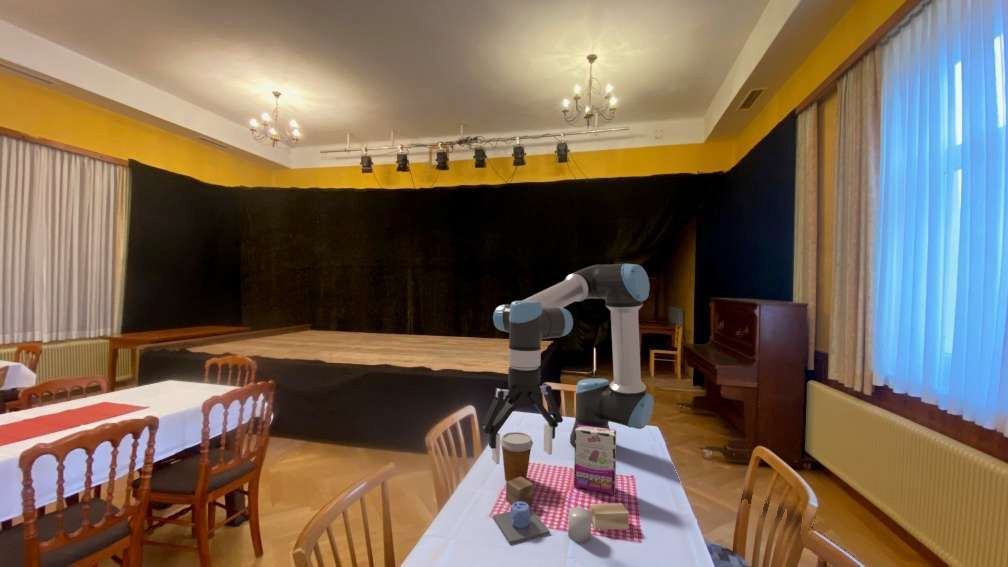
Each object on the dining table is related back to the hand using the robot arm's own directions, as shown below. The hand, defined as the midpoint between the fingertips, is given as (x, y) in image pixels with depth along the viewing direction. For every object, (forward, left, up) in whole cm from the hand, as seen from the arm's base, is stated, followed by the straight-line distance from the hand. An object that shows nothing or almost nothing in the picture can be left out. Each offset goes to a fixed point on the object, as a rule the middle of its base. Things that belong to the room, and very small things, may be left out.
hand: (522, 456), depth 89 cm
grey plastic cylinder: (-11, +8, -16) cm, 21 cm away
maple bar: (-20, +7, -16) cm, 27 cm away
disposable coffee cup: (-8, -20, -16) cm, 27 cm away
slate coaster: (0, 0, -16) cm, 16 cm away
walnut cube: (-4, -9, -16) cm, 19 cm away
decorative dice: (0, 0, -16) cm, 16 cm away
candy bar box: (-27, -8, -16) cm, 32 cm away
